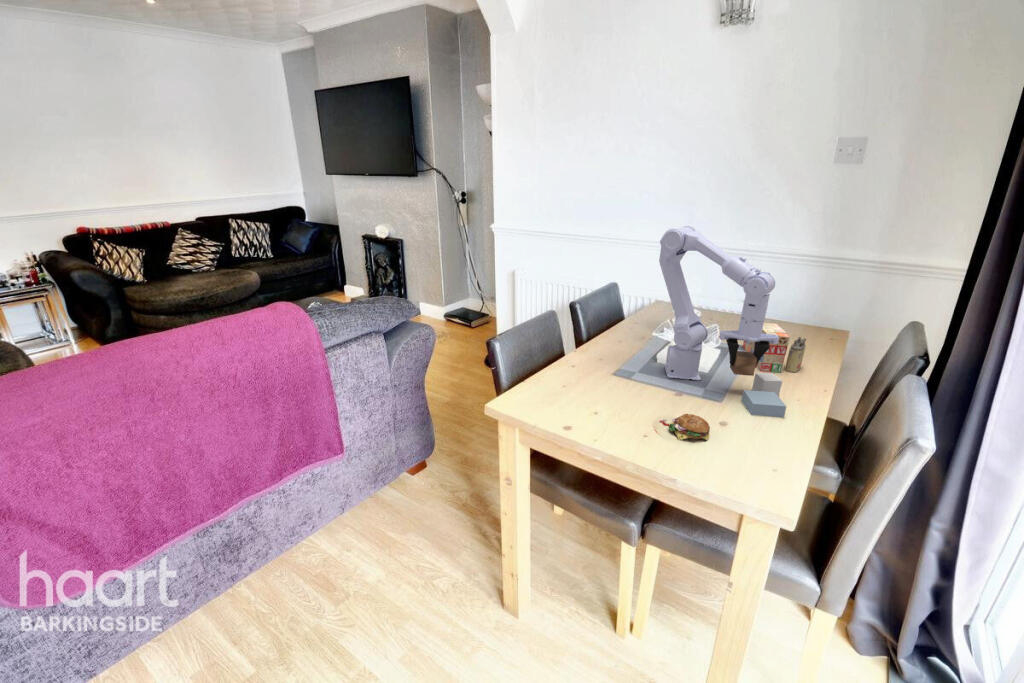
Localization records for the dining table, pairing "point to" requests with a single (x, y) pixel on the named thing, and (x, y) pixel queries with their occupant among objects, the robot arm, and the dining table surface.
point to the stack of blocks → (771, 349)
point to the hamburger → (689, 427)
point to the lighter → (795, 355)
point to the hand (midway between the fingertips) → (742, 365)
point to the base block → (763, 403)
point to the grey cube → (767, 383)
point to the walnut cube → (744, 363)
